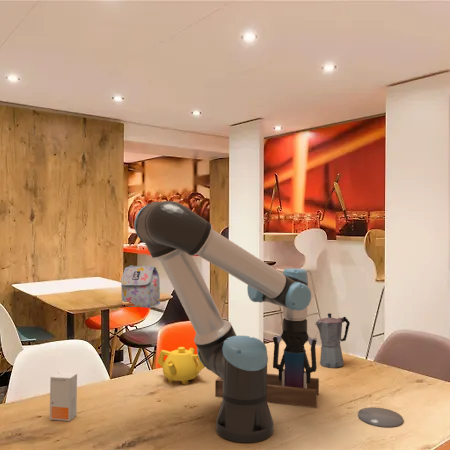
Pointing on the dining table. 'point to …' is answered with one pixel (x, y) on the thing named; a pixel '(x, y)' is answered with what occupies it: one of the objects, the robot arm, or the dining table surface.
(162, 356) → the teapot
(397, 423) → the coaster
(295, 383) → the cup
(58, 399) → the skincare box
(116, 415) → the dining table surface
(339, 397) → the dining table surface
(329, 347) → the moka pot
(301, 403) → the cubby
